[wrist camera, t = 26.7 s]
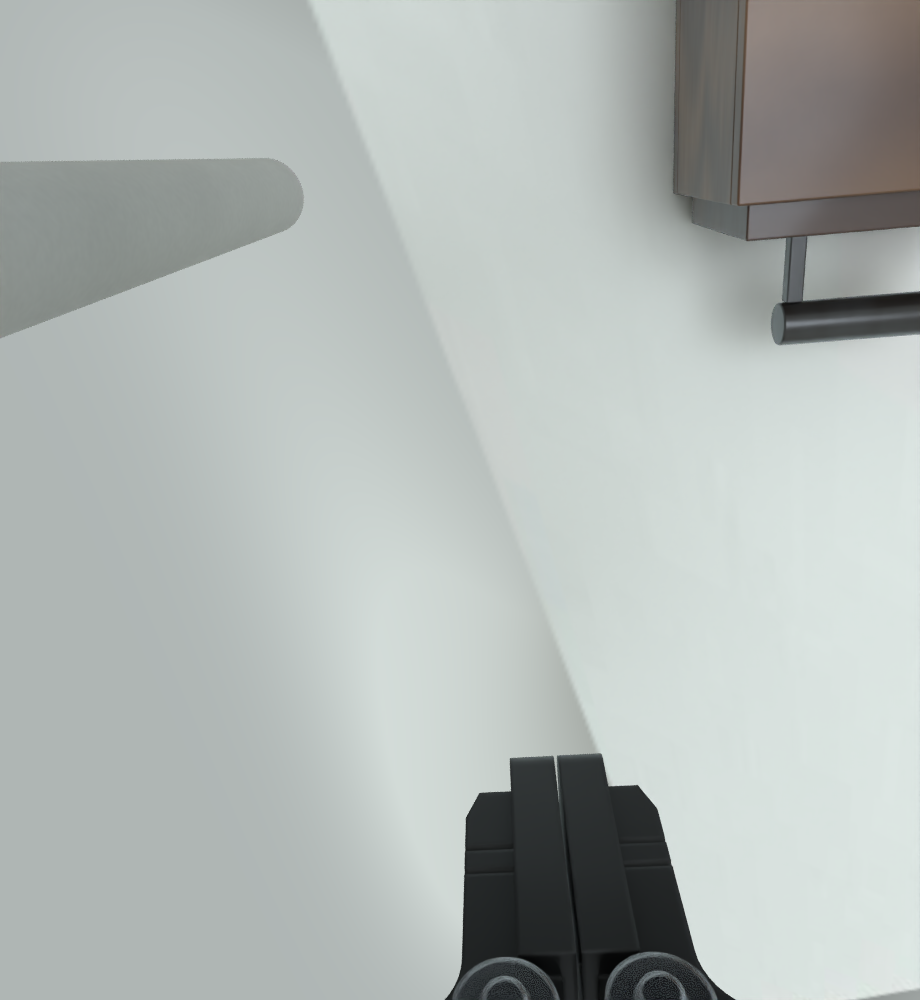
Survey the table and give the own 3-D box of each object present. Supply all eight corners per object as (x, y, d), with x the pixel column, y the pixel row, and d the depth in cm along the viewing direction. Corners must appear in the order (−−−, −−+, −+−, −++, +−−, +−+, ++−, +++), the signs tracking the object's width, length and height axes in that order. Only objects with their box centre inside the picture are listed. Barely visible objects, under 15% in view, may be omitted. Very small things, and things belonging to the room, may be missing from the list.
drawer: (954, 304, 35) (1074, 341, 28) (689, 325, 36) (739, 367, 29) (1030, -210, 29) (1214, -333, 21) (700, -172, 29) (771, -279, 22)
